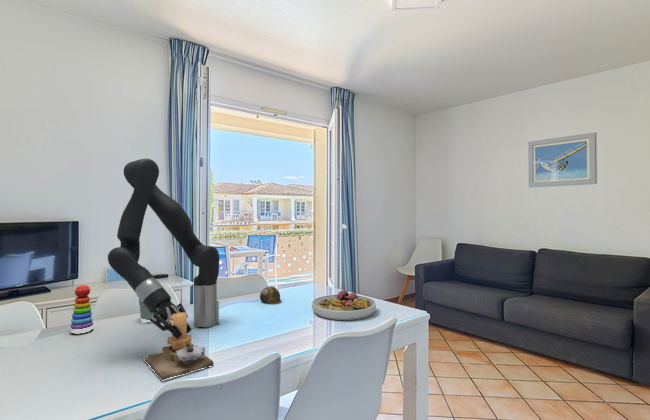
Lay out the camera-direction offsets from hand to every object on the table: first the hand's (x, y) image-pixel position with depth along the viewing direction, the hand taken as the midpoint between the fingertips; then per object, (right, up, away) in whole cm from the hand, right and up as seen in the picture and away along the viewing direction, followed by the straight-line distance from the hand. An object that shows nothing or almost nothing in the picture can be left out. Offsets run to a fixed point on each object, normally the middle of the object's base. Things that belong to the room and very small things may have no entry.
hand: (184, 334), depth 115 cm
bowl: (+54, -8, +52) cm, 76 cm away
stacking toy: (-51, -8, +26) cm, 58 cm away
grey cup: (-31, -8, +40) cm, 51 cm away
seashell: (+17, -8, +70) cm, 73 cm away
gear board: (-1, -8, -4) cm, 9 cm away
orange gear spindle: (-2, -5, 0) cm, 5 cm away
